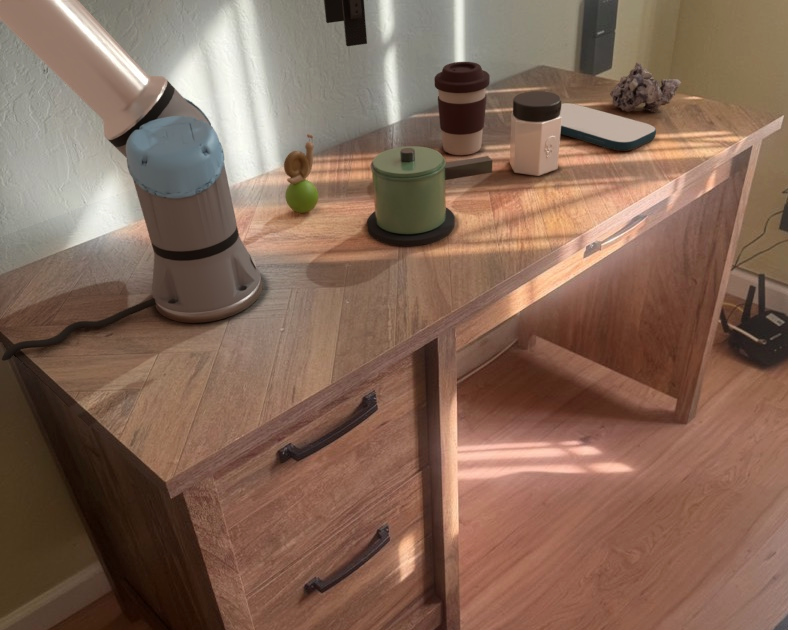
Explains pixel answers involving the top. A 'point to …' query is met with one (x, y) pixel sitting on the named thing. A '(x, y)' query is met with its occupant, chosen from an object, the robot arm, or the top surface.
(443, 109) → the coffee cup
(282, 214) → the top surface
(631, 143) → the external hard drive
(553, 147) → the jar
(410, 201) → the pot
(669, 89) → the mineral specimen
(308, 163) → the snail figurine
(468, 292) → the top surface
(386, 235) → the trivet
